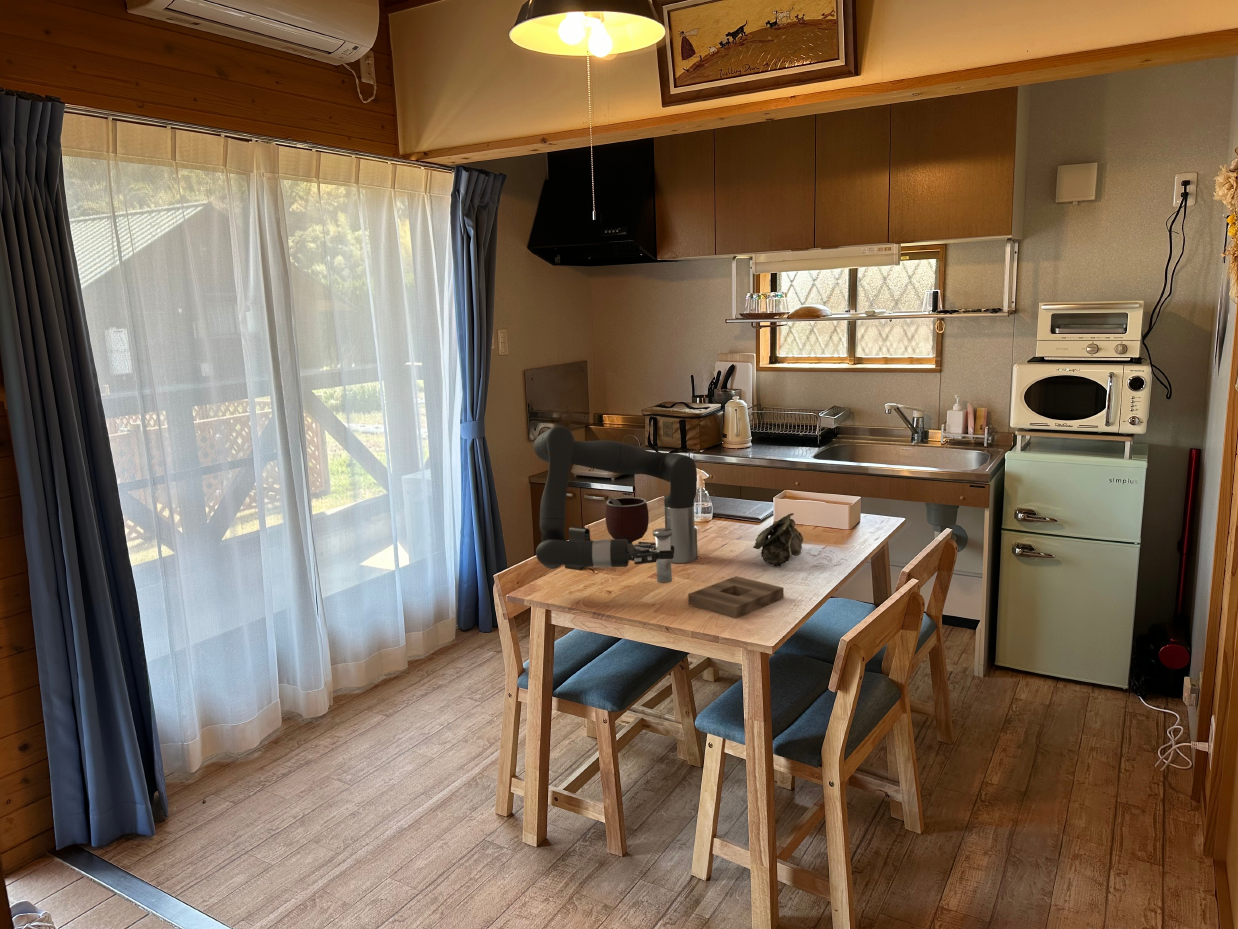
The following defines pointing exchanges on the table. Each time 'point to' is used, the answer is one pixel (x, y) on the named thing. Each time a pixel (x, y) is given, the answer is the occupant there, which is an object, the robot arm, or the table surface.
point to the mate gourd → (627, 518)
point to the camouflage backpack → (780, 541)
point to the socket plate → (735, 596)
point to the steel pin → (663, 544)
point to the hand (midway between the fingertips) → (673, 552)
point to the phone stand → (578, 535)
